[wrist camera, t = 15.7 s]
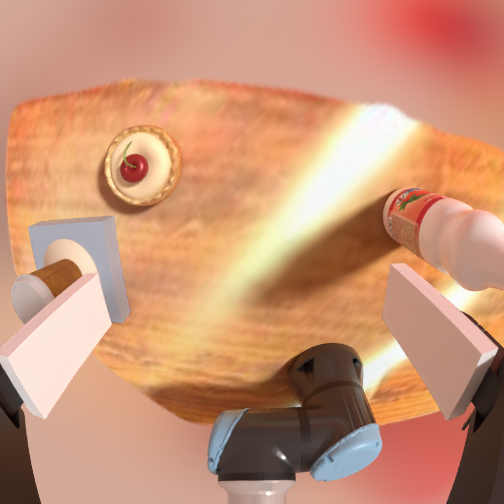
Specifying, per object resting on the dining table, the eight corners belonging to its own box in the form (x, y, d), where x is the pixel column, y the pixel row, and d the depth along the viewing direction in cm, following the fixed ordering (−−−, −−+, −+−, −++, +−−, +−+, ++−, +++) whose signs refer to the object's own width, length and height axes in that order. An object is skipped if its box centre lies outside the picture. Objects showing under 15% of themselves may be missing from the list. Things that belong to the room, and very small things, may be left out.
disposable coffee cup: (70, 307, 43) (35, 343, 32) (43, 264, 41) (1, 292, 29) (100, 287, 42) (63, 325, 30) (70, 239, 39) (24, 266, 28)
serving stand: (130, 311, 48) (121, 324, 44) (59, 305, 48) (48, 315, 44) (114, 215, 42) (101, 221, 38) (40, 221, 43) (26, 227, 38)
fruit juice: (374, 235, 43) (486, 327, 16) (388, 179, 40) (526, 220, 13) (418, 246, 43) (528, 328, 17) (432, 194, 40) (560, 244, 14)
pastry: (126, 207, 43) (98, 221, 34) (113, 137, 38) (82, 137, 30) (194, 194, 41) (176, 205, 33) (182, 118, 37) (161, 111, 29)
